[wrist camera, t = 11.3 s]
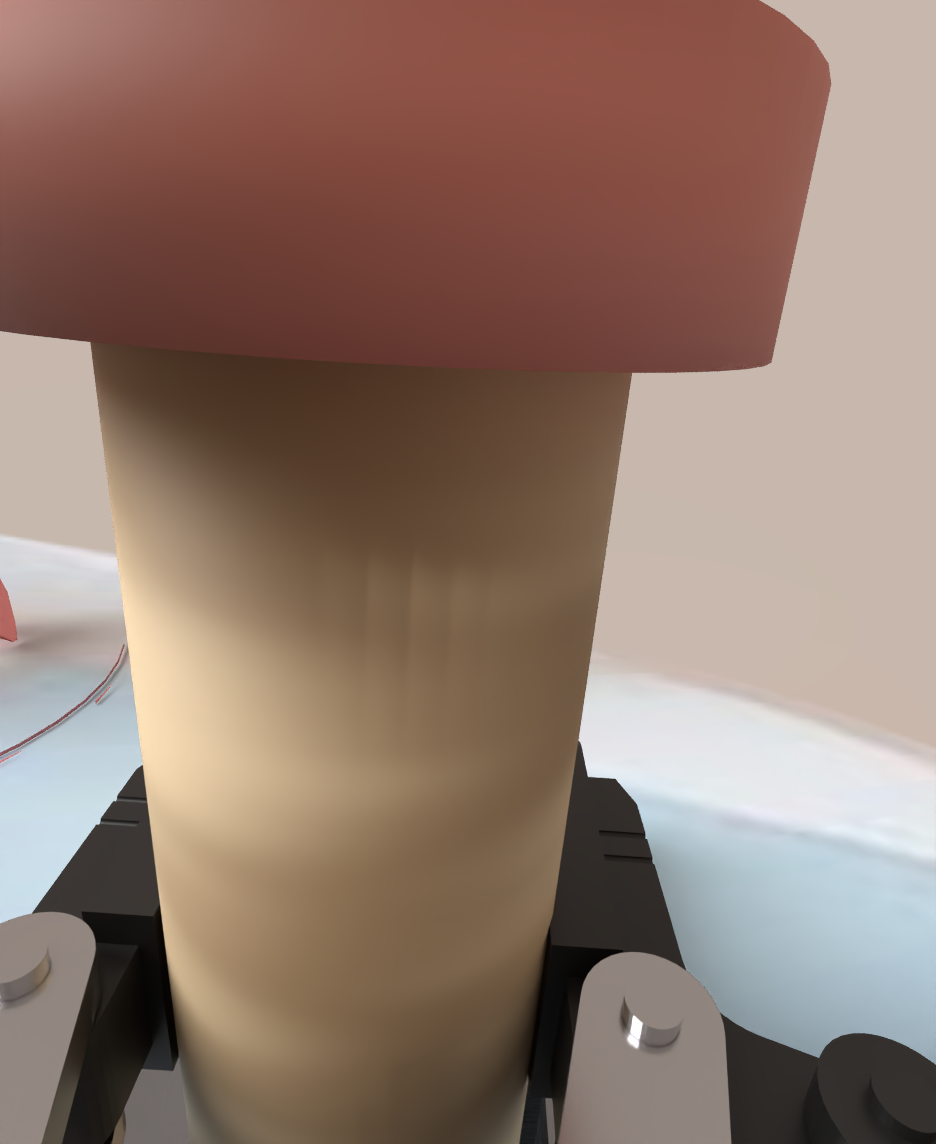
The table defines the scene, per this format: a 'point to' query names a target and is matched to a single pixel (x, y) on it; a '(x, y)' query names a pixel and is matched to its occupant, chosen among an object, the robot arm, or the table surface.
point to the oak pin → (380, 471)
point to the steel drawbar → (162, 1122)
